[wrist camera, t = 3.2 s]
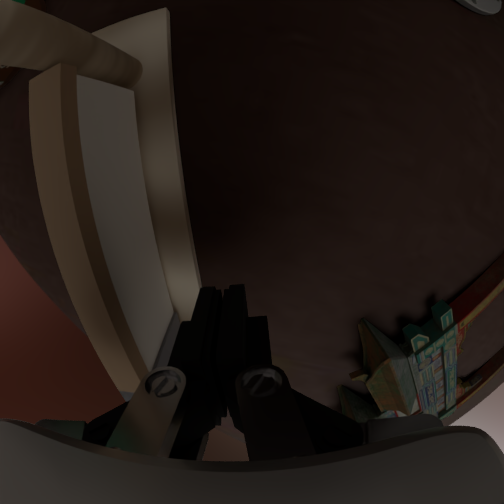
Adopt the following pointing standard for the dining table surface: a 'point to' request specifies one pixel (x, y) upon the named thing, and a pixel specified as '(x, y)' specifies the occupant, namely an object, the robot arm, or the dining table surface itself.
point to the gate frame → (146, 106)
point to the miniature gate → (424, 359)
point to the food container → (4, 74)
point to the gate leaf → (101, 220)
